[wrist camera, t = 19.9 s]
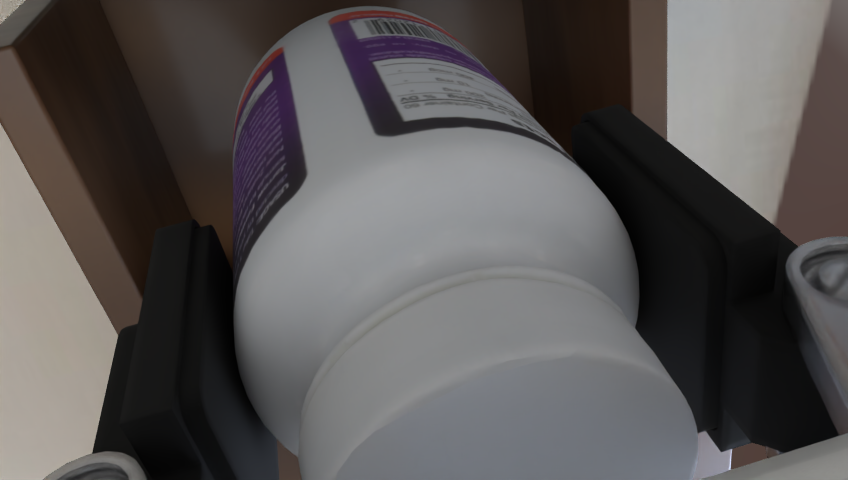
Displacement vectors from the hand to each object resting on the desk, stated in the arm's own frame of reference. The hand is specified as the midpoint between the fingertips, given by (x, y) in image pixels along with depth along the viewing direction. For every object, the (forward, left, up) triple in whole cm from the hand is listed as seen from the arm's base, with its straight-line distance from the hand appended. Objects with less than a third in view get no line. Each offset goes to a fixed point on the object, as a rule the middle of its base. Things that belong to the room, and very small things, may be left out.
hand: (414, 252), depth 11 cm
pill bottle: (0, 0, -5) cm, 5 cm away
